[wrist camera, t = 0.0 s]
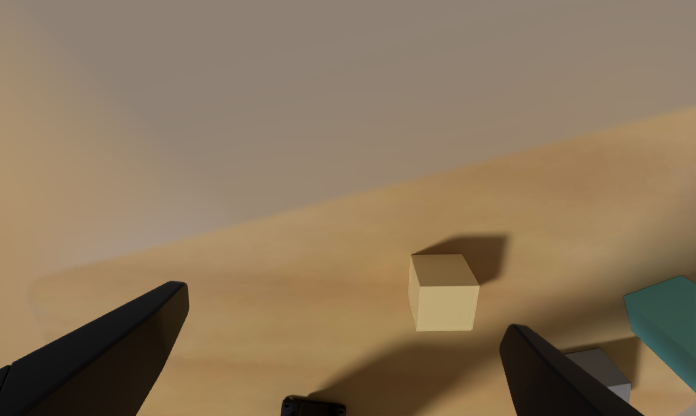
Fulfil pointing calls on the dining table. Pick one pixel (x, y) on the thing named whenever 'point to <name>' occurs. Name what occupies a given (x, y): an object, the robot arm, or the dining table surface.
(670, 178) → the dining table surface
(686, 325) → the teal brick
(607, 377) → the base brick
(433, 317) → the brick
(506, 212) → the dining table surface
